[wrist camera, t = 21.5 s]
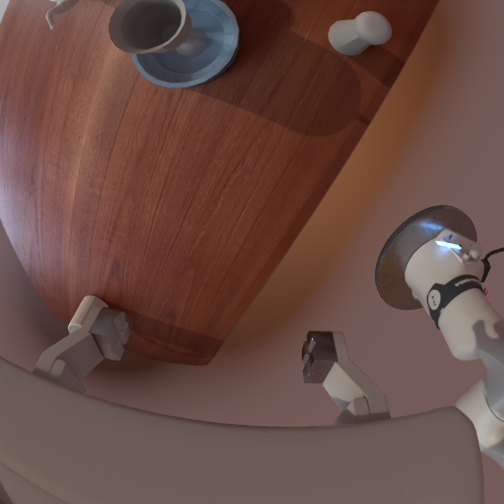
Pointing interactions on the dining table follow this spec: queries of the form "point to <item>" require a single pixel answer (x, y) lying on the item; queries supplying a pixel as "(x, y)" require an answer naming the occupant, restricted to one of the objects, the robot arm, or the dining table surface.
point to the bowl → (205, 65)
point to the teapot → (59, 9)
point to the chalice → (156, 28)
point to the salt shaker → (359, 33)
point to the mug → (84, 312)
